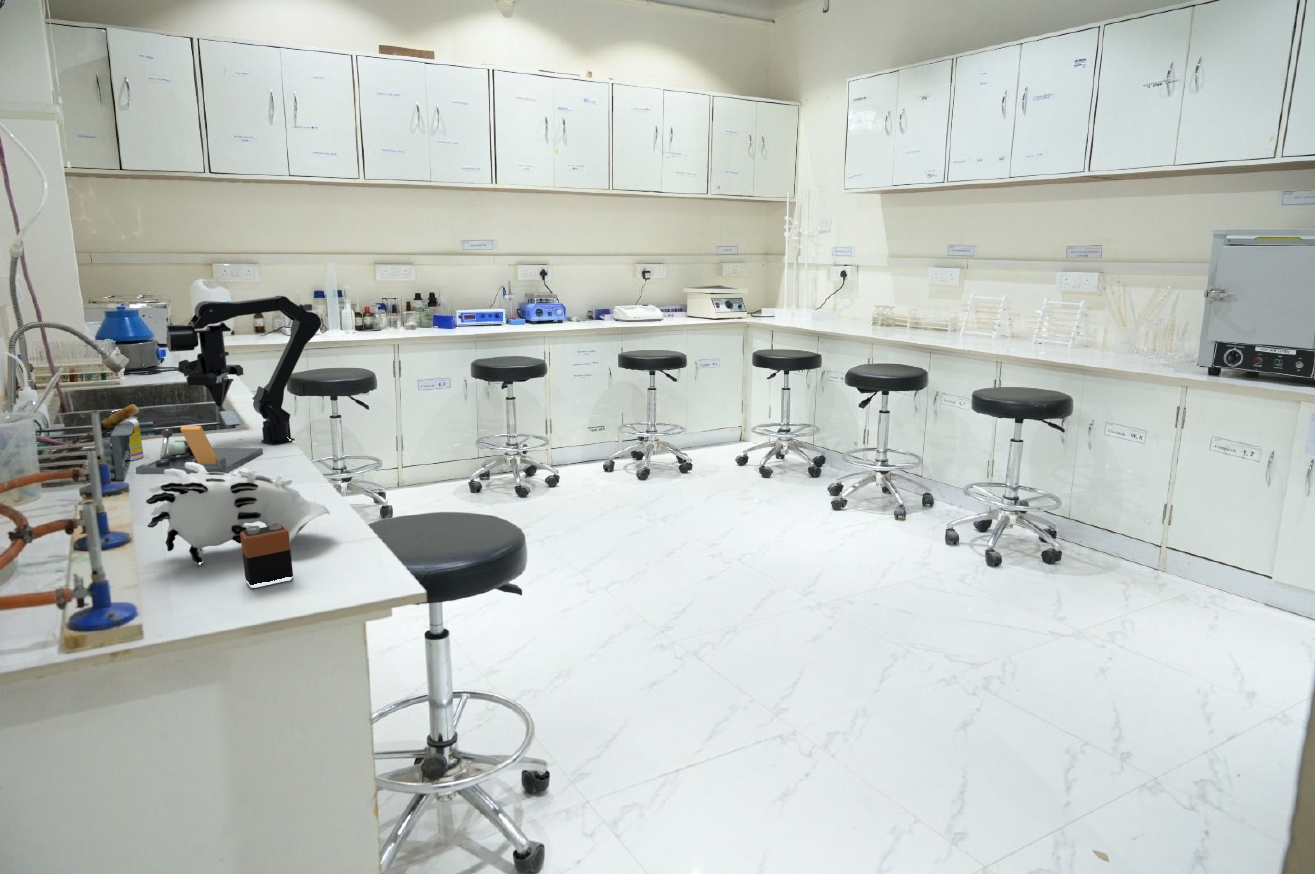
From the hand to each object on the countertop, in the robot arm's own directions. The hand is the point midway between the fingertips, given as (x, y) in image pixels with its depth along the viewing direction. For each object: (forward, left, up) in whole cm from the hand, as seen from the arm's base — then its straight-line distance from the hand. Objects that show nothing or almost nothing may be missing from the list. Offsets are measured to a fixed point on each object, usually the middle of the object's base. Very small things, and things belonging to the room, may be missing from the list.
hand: (219, 406), depth 227 cm
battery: (+52, +92, -12) cm, 106 cm away
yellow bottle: (+19, -12, -12) cm, 26 cm away
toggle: (+21, +7, -10) cm, 24 cm away
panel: (+12, +9, -12) cm, 19 cm away
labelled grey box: (+10, +1, -8) cm, 13 cm away
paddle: (+17, +20, -10) cm, 28 cm away
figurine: (+45, +76, -12) cm, 89 cm away
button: (+15, +4, -9) cm, 18 cm away
